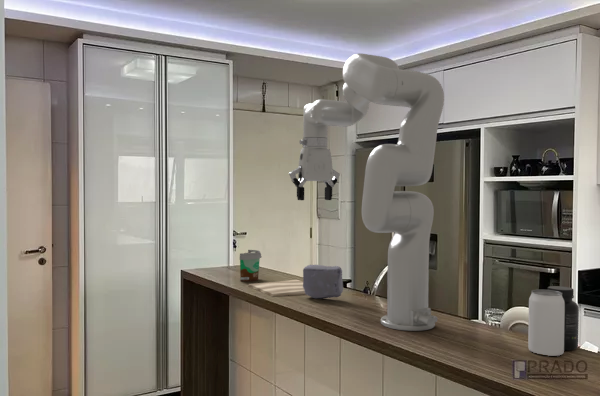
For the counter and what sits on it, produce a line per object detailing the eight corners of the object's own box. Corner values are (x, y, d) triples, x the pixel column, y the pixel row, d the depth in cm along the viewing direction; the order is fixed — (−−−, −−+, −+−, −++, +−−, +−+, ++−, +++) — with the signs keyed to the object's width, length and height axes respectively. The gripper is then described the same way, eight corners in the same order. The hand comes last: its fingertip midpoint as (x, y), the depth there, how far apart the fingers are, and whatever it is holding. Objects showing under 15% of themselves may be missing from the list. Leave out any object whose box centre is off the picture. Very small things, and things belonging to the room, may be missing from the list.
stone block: (301, 299, 155) (301, 265, 155) (308, 296, 159) (308, 263, 159) (338, 303, 150) (338, 268, 149) (345, 300, 154) (345, 266, 154)
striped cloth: (324, 292, 165) (324, 288, 165) (272, 297, 157) (272, 293, 157) (297, 283, 181) (297, 279, 181) (248, 287, 173) (248, 284, 173)
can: (568, 351, 106) (568, 292, 106) (558, 359, 101) (559, 296, 101) (534, 345, 110) (535, 287, 110) (523, 352, 106) (524, 292, 105)
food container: (256, 283, 181) (257, 254, 181) (239, 282, 182) (239, 253, 182) (264, 277, 193) (265, 249, 193) (248, 276, 194) (248, 249, 194)
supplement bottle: (576, 342, 112) (576, 286, 112) (580, 352, 106) (581, 292, 106) (540, 339, 115) (541, 284, 115) (542, 348, 108) (543, 289, 108)
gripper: (296, 142, 156) (295, 200, 156) (345, 144, 164) (344, 200, 164) (284, 143, 162) (284, 199, 163) (332, 146, 170) (332, 199, 171)
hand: (314, 200), depth 164 cm, fingers open, 9 cm apart
